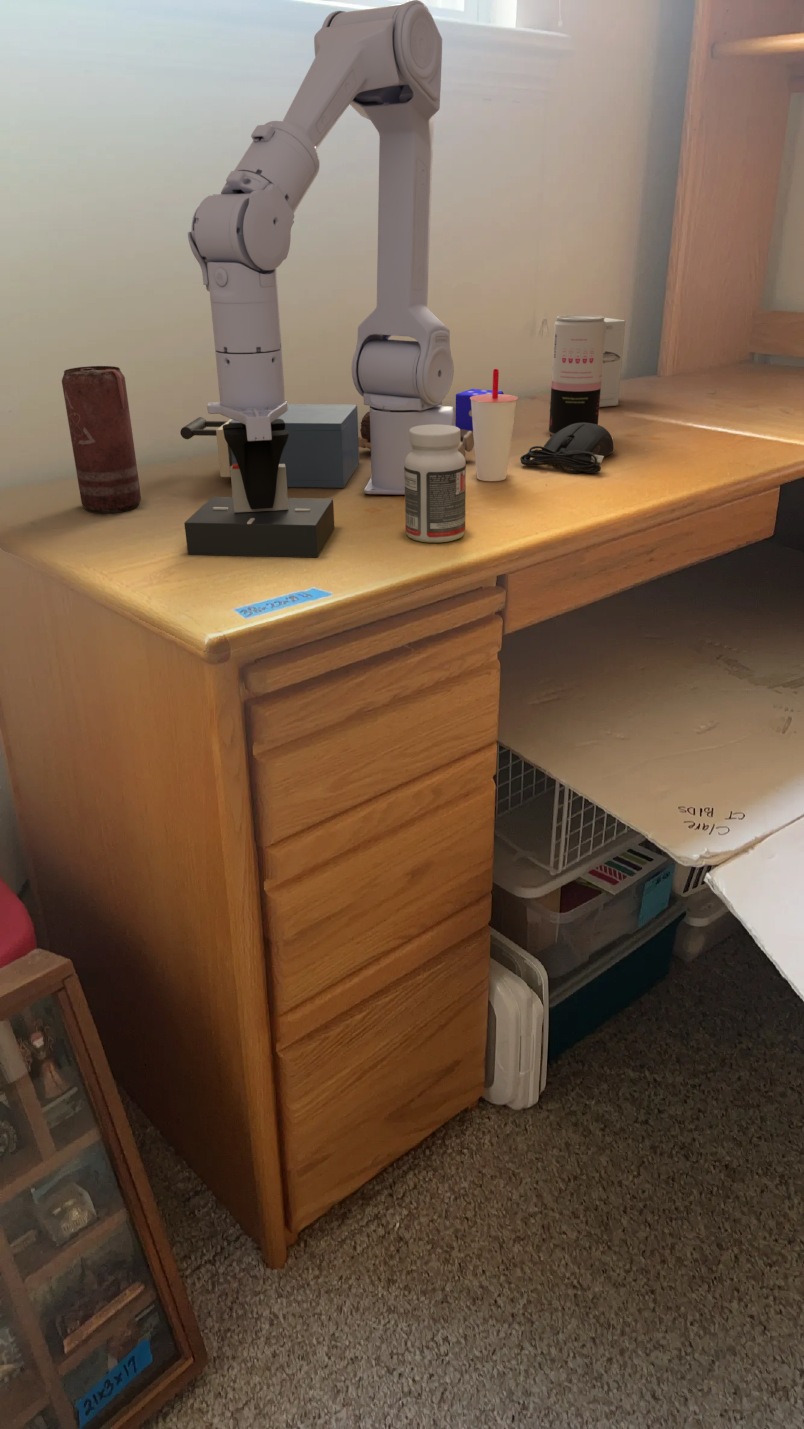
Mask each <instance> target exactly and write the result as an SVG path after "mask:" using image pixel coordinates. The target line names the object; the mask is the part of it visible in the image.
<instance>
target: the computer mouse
mask: <svg viewBox="0 0 804 1429" xmlns="http://www.w3.org/2000/svg"><path fill="white" fill-rule="evenodd" d="M614 445H615V444H614V439H613V438H612V435H611V433H610V432H609V431H608V430H607V429H606V428H605V427H603V426H602V425H599V424H598V425H597V424H592V423H575V424H572V425H569V426H567V427H565V428H563V429H561V430H560V431H558V432H557V433H555V434H554V435H551V437H549V438H548V439H547V441H546V442H545V444H544V445H543V446H541V445H535V446H532V447H530V448H529V449H528V451H527V453H525V454H523V455H521V456H520V458H519V459H520V464H522V465H524V466H534V467H535V466H546V465H554V467H556V468H557V467H559V468H560V469H562V470H563V471H565V472H567V473H569V474H570V473H571V474H580V473H581V472H584V473H588V474H589V473H590V474H597V473H599V472H600V471H601V470H602V467H601V464H602V462H603V460H604V458H605V457H608V456H609V455H611V454H612V453H613V452H614V450H615V446H614ZM567 468H568V469H567ZM569 469H571V470H569Z"/></svg>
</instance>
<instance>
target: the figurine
mask: <svg viewBox="0 0 804 1429" xmlns="http://www.w3.org/2000/svg"><path fill="white" fill-rule="evenodd" d="M359 429H360V430H359V431H360V436H358V442H359V448H362V449H368V450H370V452H371V439H370V410H369V411H367V412H366V413H365V414H364V415H363V417H362V418H361V421H360V428H359ZM460 440H461V442H460V443H459V445H458V446H457V448H458V451H459V452H460V453H461V454H462V455H463V456H464V458H465V459H466V452H468V453H470V452H472V451H473V449H474V435H473V432H472V431H469V430H464V429H460Z"/></svg>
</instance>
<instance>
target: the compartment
mask: <svg viewBox="0 0 804 1429" xmlns="http://www.w3.org/2000/svg"><path fill="white" fill-rule="evenodd" d="M287 405H288V410H287V411H286V412H285V413H284V414H282V415H281V416H280V417H278V418H277V419H282V420H284V422H285V429H284V430H287V431H288V433H289V436H288V439H287V442H286V445H285V447H284V449H283V452H282V455H281V458H280V462H279V464H285V466H286V479H287V488H311V489H313V488H315V489H316V488H318V489H319V488H322V489H323V488H324V489H344V488H345V486H346V485H347V483H348V482H349V481H350V479H351V478H352V476H353V474H354V473H355V471H356V470H357V468H358V466H359V465H360V447H359V442H358V438H359V416H358V413H359V412H358V404H326V403H325V404H324V403H323V404H317V403H313V404H311V403H310V404H309V403H308V404H307V403H306V404H305V403H301V404H299V403H297V404H296V403H287ZM232 423H241V422H238V421H236V420H232V421H230V422H229V424H232ZM231 453H232V464H238V463H237V461H236V458H235V456H234V454H233V452H232V450H231Z"/></svg>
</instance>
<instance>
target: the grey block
mask: <svg viewBox="0 0 804 1429" xmlns="http://www.w3.org/2000/svg"><path fill="white" fill-rule="evenodd" d="M230 472H231V477H230V482H231V492H232V497H233V505H234V512H235V513H241V512H259V511H278V510H288V509H289V508H288V498H289V497H288V495H289V494H288V487H287V479H286V466H285V464H279V467H278V473H277V483H276V493H275V500H274V505H273V508H262V509H251V508H250V506H249V503H248V500H247V497H246V493H245V489H244V484H243V480H242V476H241V472H240V469H239V466H238V464H232V466H231V467H230Z"/></svg>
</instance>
